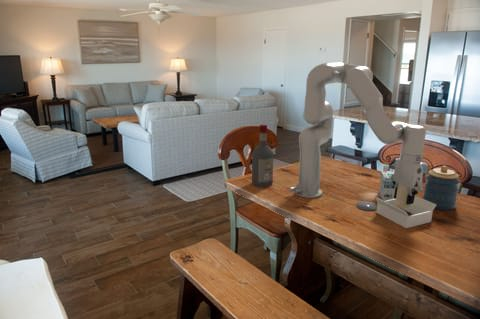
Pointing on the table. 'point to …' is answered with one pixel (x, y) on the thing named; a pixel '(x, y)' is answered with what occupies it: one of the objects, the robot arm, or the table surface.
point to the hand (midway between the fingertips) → (403, 200)
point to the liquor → (262, 161)
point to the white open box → (394, 213)
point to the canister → (442, 188)
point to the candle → (402, 196)
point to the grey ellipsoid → (366, 205)
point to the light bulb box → (386, 185)
